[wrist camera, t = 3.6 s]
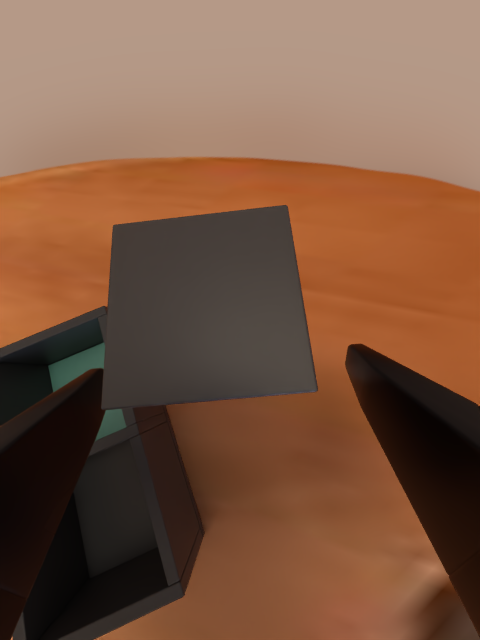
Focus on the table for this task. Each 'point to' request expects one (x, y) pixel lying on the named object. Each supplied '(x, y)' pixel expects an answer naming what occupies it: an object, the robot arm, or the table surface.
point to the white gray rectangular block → (205, 311)
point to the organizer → (104, 499)
